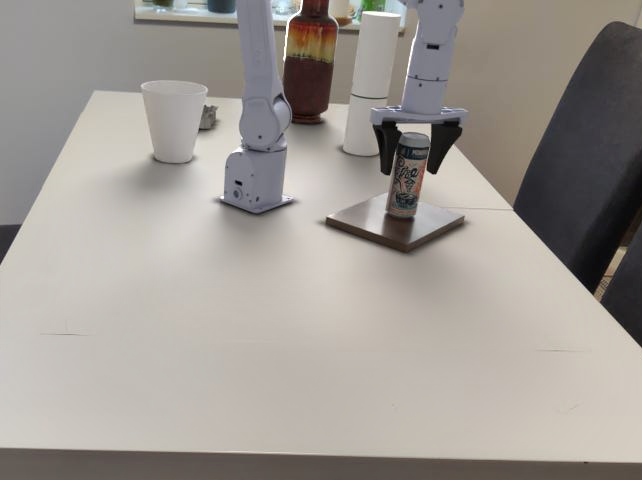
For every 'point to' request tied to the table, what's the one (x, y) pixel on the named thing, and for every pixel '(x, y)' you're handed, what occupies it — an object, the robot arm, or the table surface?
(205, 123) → the egg carton
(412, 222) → the serving board
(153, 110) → the cup
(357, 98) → the cylindrical container
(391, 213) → the beer can
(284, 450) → the table surface
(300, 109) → the vase
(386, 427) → the table surface
